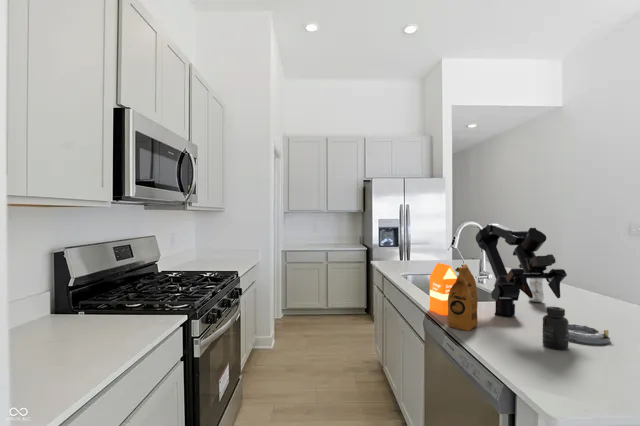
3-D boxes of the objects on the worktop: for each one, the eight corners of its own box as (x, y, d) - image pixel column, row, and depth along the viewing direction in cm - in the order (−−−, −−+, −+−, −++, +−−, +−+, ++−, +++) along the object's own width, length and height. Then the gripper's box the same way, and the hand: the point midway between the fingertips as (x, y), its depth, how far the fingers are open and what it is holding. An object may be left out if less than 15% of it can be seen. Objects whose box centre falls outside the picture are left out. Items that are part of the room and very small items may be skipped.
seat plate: (549, 337, 120) (549, 327, 120) (553, 325, 132) (553, 316, 132) (611, 349, 110) (611, 337, 110) (608, 334, 123) (608, 324, 123)
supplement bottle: (572, 351, 108) (573, 311, 108) (547, 349, 109) (548, 310, 109) (562, 343, 115) (562, 306, 115) (538, 341, 116) (539, 304, 116)
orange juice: (444, 308, 156) (444, 262, 156) (458, 313, 148) (458, 265, 148) (429, 309, 154) (429, 263, 154) (442, 315, 145) (442, 266, 145)
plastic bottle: (541, 300, 170) (542, 258, 170) (545, 304, 163) (546, 260, 163) (526, 299, 172) (526, 258, 172) (529, 303, 165) (529, 259, 165)
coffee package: (442, 326, 131) (443, 266, 131) (454, 319, 140) (454, 262, 140) (471, 332, 124) (471, 269, 124) (481, 324, 134) (481, 265, 134)
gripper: (511, 245, 125) (528, 285, 114) (564, 246, 125) (586, 285, 114) (499, 263, 133) (514, 302, 123) (549, 263, 133) (568, 302, 123)
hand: (545, 297), depth 120 cm, fingers open, 9 cm apart
